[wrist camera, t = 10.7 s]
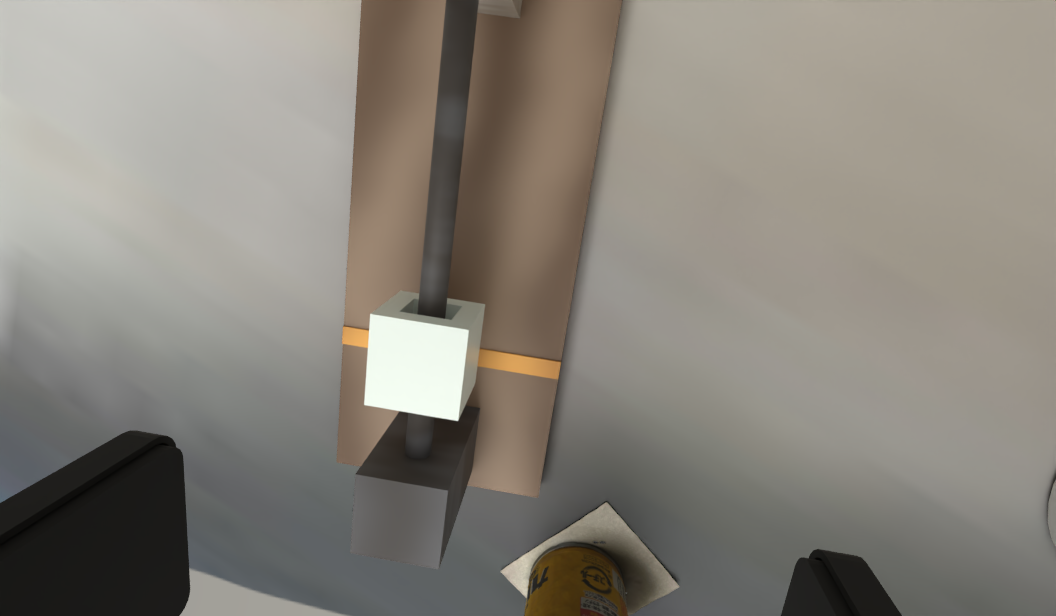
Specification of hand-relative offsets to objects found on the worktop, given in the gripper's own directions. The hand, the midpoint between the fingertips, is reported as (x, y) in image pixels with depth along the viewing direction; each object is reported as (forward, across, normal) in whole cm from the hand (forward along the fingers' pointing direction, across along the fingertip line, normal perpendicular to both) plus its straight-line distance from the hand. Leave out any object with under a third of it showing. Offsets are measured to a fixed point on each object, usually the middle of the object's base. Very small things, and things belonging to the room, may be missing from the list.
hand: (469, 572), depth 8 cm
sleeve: (+18, +5, +3) cm, 19 cm away
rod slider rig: (+23, +5, -1) cm, 23 cm away
